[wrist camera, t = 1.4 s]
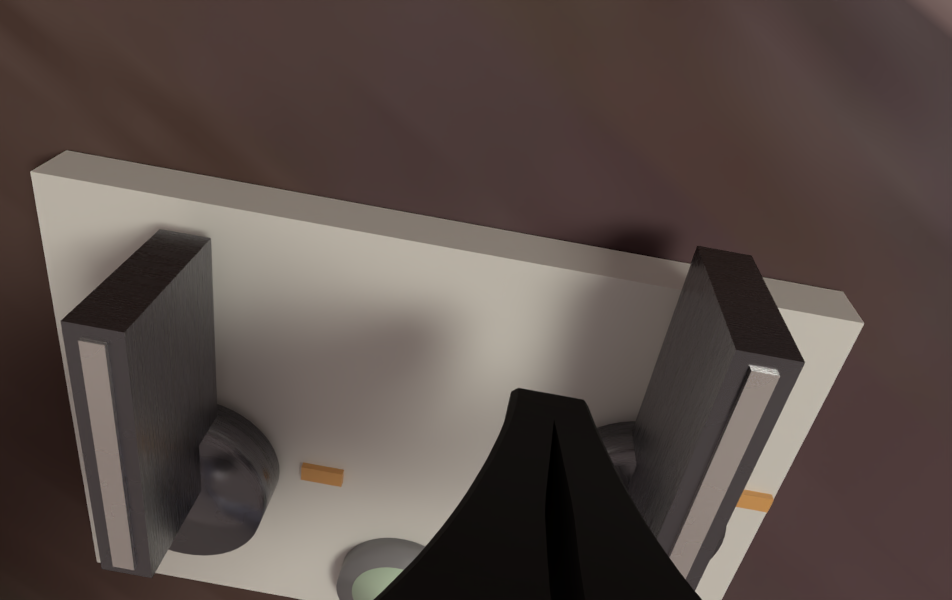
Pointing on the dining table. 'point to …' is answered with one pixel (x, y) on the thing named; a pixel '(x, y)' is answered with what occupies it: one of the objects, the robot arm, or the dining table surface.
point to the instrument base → (398, 356)
